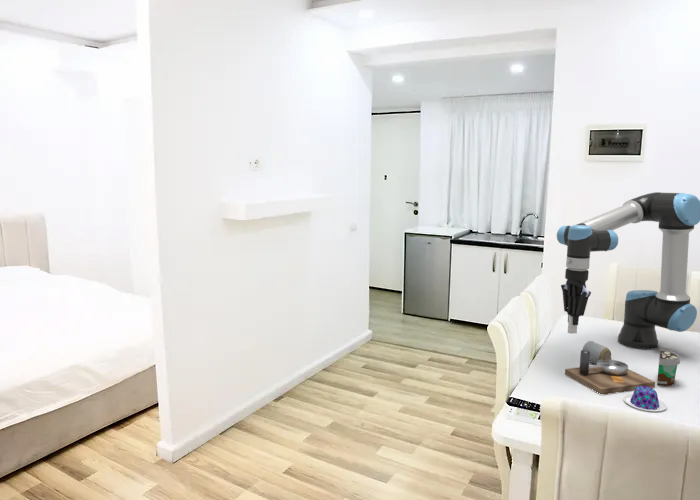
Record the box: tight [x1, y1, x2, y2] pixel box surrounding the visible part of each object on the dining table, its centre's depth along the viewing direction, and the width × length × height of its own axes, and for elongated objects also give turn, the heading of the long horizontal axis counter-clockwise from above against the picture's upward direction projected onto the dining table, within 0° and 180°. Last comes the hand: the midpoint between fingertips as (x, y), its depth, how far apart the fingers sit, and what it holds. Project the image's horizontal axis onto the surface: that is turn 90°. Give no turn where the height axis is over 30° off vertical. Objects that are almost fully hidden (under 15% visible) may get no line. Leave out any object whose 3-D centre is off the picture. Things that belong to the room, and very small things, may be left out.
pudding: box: [622, 386, 668, 412], centre depth 163 cm, size 12×12×5 cm
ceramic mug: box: [581, 340, 613, 365], centre depth 198 cm, size 11×8×8 cm
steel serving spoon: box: [579, 349, 629, 375], centre depth 183 cm, size 18×10×8 cm, turn 105°
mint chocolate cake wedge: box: [656, 348, 681, 387], centre depth 179 cm, size 12×6×10 cm, turn 148°
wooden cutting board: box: [564, 366, 656, 395], centre depth 181 cm, size 22×18×2 cm
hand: (572, 332), depth 186 cm, fingers closed
